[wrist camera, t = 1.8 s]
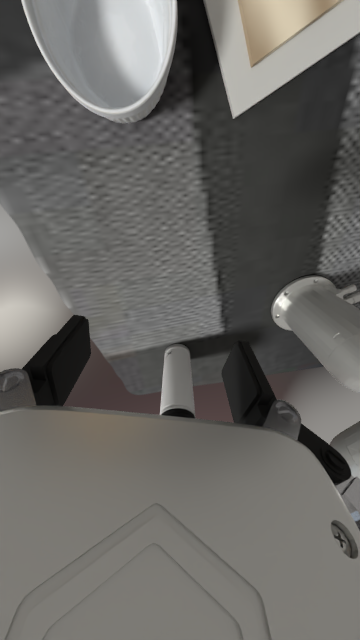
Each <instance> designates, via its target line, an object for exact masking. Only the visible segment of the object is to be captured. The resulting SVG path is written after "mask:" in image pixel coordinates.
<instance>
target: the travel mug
mask: <svg viewBox="0 0 360 640" xmlns="http://www.w3.org/2000/svg"><path fill="white" fill-rule="evenodd" d="M160 415H164V416H174V417H184V418H194V419H195V410H194V398H193V386H192V373H191V361H190V351H189V349H188V348H187V347H186V346H184V345H182V344H173V345H170V346H169V347H168V348H167V349H166V350H165V358H164V371H163V383H162V396H161V408H160Z"/></svg>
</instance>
